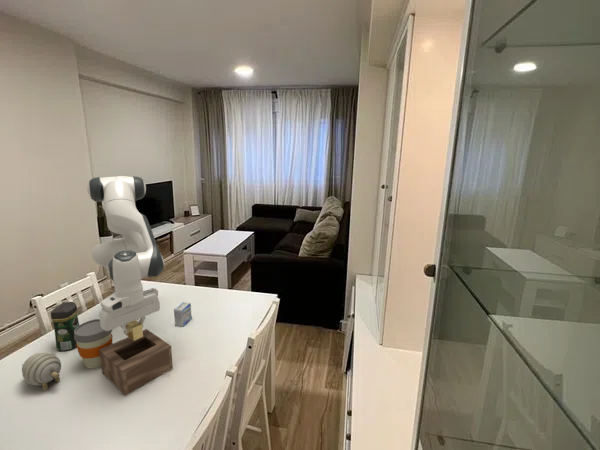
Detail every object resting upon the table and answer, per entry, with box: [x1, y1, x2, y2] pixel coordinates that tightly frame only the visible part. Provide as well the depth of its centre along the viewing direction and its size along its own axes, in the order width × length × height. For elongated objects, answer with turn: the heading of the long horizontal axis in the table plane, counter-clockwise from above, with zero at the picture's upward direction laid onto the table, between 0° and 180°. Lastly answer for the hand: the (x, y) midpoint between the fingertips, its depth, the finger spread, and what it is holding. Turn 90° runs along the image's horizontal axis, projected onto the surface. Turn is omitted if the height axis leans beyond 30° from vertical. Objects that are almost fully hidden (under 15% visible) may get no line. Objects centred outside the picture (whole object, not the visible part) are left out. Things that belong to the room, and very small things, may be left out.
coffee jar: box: [50, 301, 80, 352], centre depth 135 cm, size 10×8×19 cm
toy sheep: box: [21, 352, 62, 391], centre depth 115 cm, size 11×17×11 cm, turn 72°
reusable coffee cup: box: [74, 318, 113, 369], centre depth 127 cm, size 13×13×15 cm
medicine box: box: [173, 301, 193, 327], centre depth 156 cm, size 8×4×9 cm, turn 168°
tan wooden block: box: [125, 320, 144, 341], centre depth 119 cm, size 6×4×5 cm, turn 53°
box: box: [99, 328, 174, 396], centre depth 122 cm, size 18×18×10 cm
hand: (133, 330), depth 119 cm, fingers closed on tan wooden block, 3 cm apart
